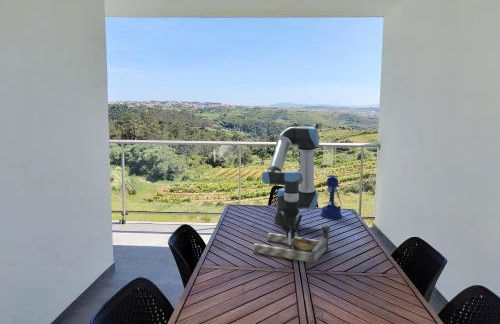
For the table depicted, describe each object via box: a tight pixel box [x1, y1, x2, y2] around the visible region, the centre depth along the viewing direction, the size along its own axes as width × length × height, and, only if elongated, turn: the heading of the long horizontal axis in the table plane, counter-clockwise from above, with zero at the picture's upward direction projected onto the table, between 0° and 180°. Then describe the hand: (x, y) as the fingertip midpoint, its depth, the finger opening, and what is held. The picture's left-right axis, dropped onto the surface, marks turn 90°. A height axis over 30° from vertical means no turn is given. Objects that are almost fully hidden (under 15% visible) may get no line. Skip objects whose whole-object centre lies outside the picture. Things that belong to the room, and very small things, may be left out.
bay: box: [252, 225, 331, 264], centre depth 193 cm, size 34×26×12 cm
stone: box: [292, 237, 315, 253], centre depth 191 cm, size 15×9×5 cm, turn 16°
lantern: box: [319, 174, 343, 220], centre depth 259 cm, size 17×15×30 cm
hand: (290, 244), depth 193 cm, fingers closed
